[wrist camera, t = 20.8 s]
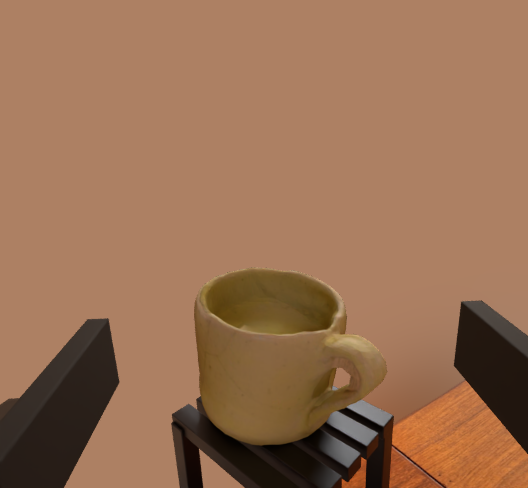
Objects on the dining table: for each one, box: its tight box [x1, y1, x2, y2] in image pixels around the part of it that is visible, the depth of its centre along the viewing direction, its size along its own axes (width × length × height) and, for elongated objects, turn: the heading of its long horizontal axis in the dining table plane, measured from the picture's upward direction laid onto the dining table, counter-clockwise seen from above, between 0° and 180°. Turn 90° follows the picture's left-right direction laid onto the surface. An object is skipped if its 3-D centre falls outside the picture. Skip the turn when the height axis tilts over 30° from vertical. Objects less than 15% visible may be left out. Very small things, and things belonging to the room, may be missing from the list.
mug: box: [194, 268, 387, 446], centre depth 24 cm, size 12×10×10 cm
